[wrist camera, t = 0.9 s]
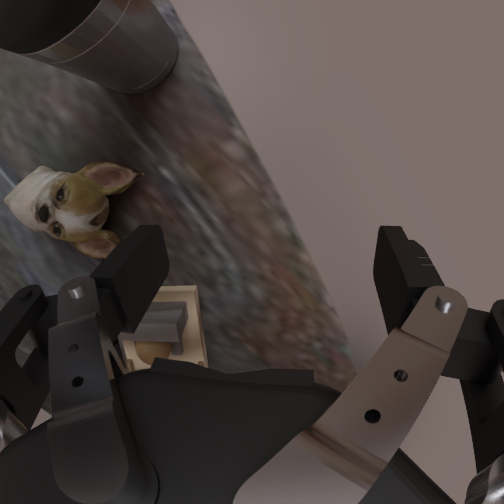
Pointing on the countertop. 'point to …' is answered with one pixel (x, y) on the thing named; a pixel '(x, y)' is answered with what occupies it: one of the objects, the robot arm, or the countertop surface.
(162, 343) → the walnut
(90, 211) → the ceramic sculpture
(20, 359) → the countertop surface
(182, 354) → the base
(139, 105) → the countertop surface
